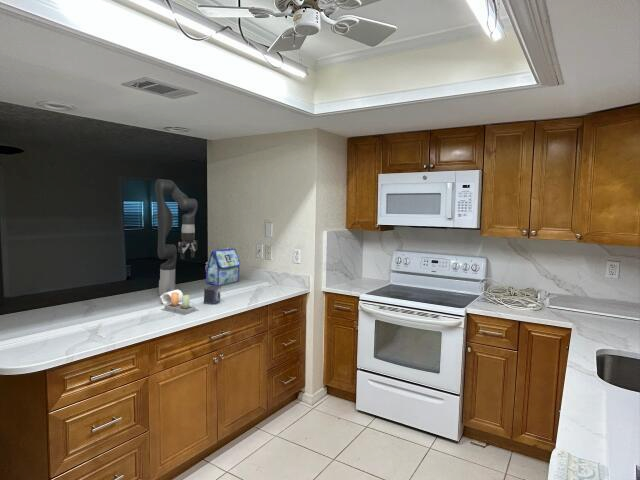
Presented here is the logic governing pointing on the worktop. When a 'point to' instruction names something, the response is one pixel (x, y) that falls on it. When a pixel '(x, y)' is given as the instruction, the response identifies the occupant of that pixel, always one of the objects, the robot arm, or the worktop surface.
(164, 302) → the mug
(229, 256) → the lunch bag
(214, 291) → the small box
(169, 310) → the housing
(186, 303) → the jaw peg olive
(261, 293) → the worktop surface
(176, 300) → the jaw peg orange
